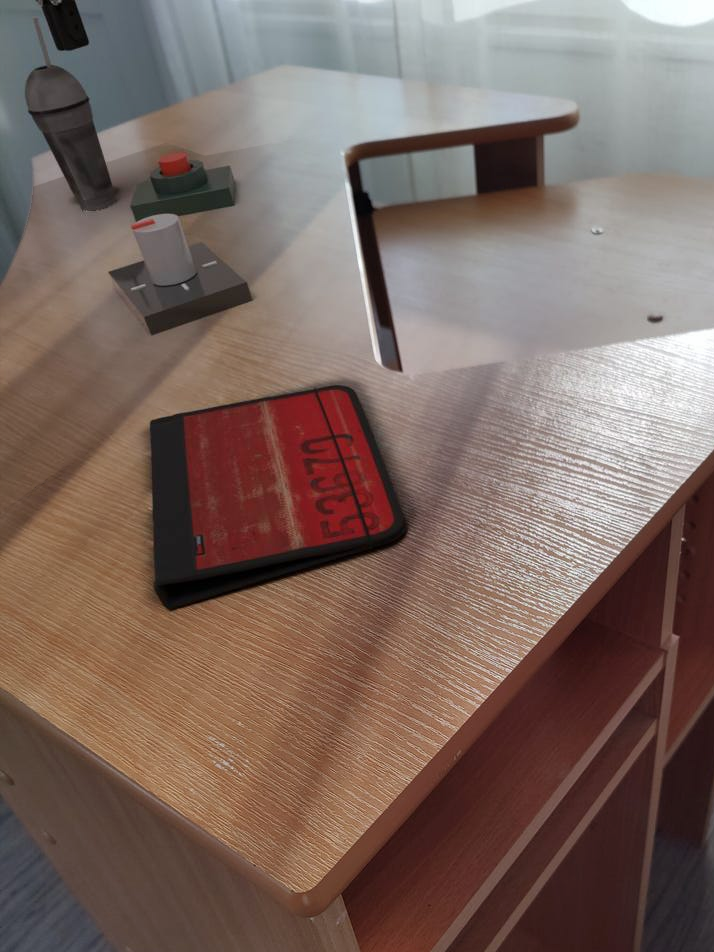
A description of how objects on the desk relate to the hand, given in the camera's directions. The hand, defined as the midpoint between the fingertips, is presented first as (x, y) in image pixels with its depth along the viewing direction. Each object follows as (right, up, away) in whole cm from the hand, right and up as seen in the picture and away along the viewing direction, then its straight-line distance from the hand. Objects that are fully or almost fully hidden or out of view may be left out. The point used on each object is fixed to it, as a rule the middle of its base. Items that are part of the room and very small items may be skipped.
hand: (73, 47), depth 94 cm
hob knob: (+14, -29, -10) cm, 34 cm away
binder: (+29, -54, -32) cm, 69 cm away
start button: (+7, -7, +13) cm, 16 cm away
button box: (+7, -9, +15) cm, 19 cm away
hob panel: (+15, -31, -8) cm, 35 cm away
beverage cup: (-5, -8, +19) cm, 21 cm away
